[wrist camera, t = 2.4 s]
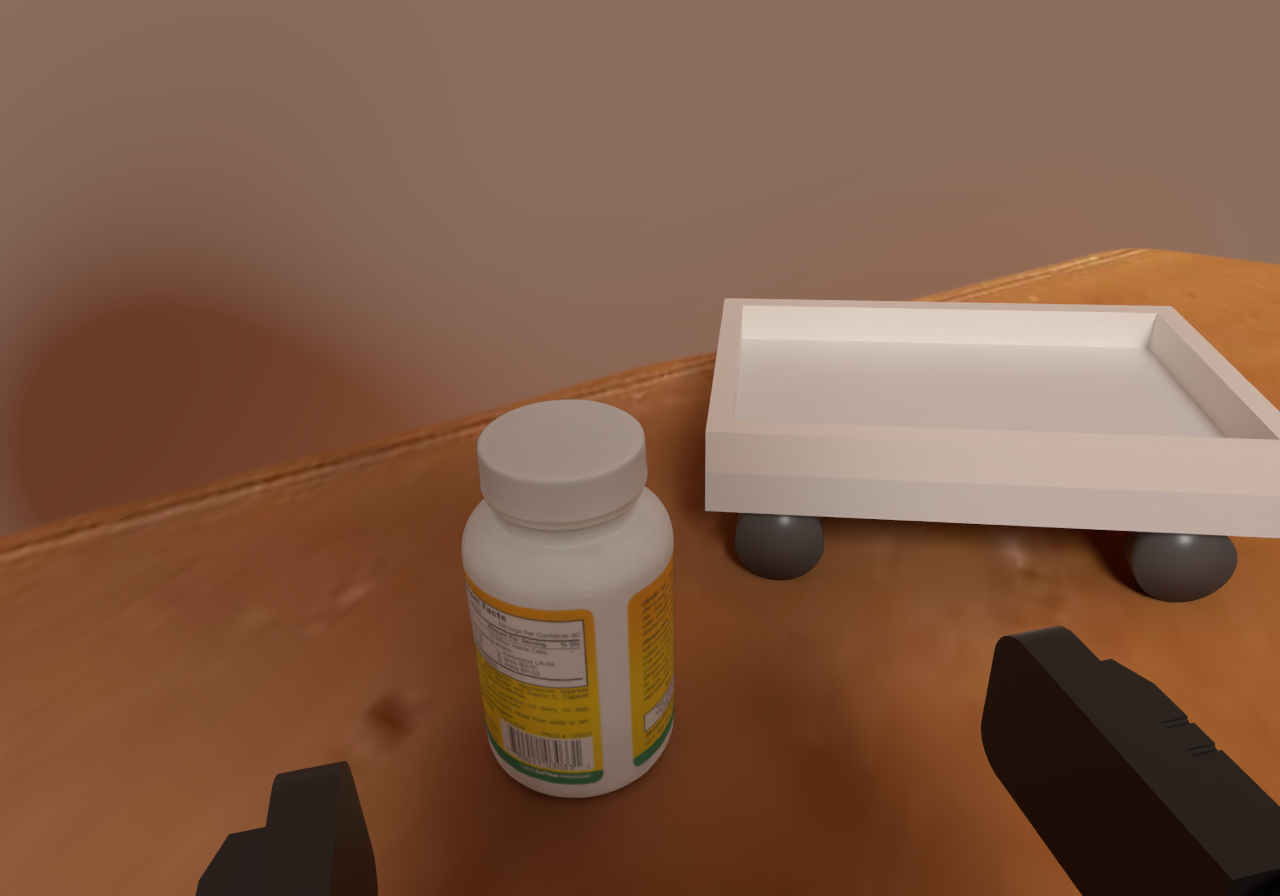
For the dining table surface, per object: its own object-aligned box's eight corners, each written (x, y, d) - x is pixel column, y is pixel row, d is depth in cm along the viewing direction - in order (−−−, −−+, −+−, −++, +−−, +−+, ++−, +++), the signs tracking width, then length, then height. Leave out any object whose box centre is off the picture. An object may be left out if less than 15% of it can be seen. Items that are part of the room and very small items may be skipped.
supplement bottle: (523, 834, 23) (478, 522, 19) (467, 696, 28) (419, 414, 23) (710, 761, 25) (713, 460, 20) (630, 642, 29) (618, 370, 25)
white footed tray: (704, 582, 32) (705, 431, 29) (722, 422, 42) (724, 298, 39) (1260, 614, 30) (1323, 454, 27) (1136, 436, 40) (1171, 306, 37)
